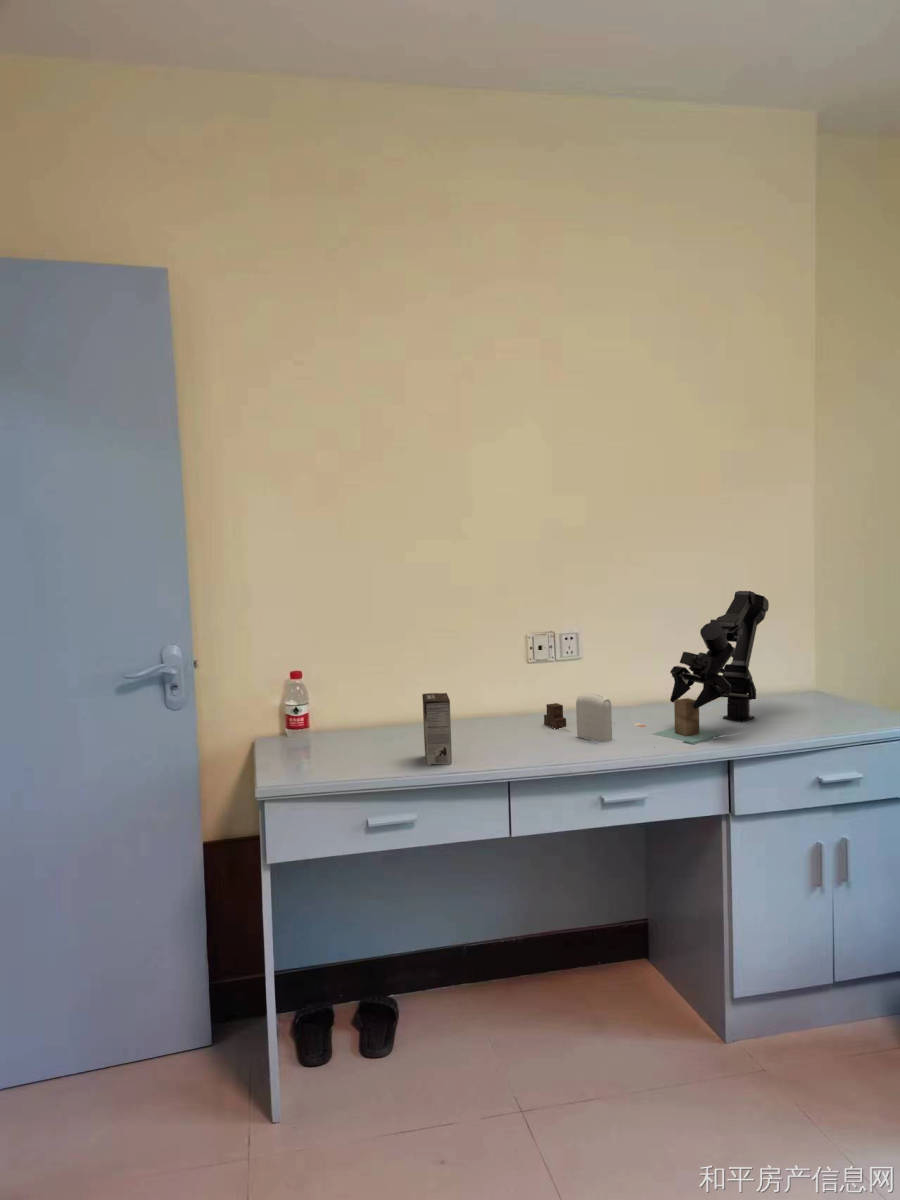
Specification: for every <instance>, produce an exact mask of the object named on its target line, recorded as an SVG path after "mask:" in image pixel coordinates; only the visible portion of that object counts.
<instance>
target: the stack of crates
mask: <svg viewBox="0 0 900 1200" xmlns="http://www.w3.org/2000/svg"><path fill="white" fill-rule="evenodd" d="M543 722H544V723H543V724H544V725H545V724H546V725H545V726H547V725H548V726H547V727H549V726H550V728H551V727H553V728H555V729H556V730H560V729H559V728H566V727H567V718H566V717H565V716H564V705H563V704H561V703H558V702H555V703H548V704H546V714H543ZM553 728H552V729H553ZM555 729H554V730H555Z"/></svg>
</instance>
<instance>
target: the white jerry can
mask: <svg viewBox="0 0 900 1200" xmlns="http://www.w3.org/2000/svg"><path fill="white" fill-rule="evenodd" d="M575 707H576V711H575V713H576V735H577V737H578V738H581V739H585V740H591V741H597V742H603V743H604V742H611V741H612V740H613V725H612V724H613V721H612V720H613V719H612V702H611V700H610V699H609V698H608V697H606V696H604V695H602V694H599V693H595V692H587V693H583V694H579V695H578V696H577V697H576V701H575Z"/></svg>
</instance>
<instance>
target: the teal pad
mask: <svg viewBox="0 0 900 1200" xmlns="http://www.w3.org/2000/svg"><path fill="white" fill-rule="evenodd" d="M652 735H655V736H659V737H664V738H669V739H673V740H678V741H682V742H683V743H685V744H690V745H696V744H699V743H702V742H701V741H703V742H706V741H709V740H711V738H712V739H715V738H718V736H721V735H723V733H722V732H717V731H711V730H706V729H701V728H699V734H698V735H692V736H683V735H680V734H677V733H675V726H674V727H670V728H668V729H664V730H660V731H657V732H653V733H652ZM714 737H715V738H714ZM708 739H709V740H708ZM705 740H706V741H705ZM698 742H699V743H698ZM695 743H696V744H695Z"/></svg>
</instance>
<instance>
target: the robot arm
mask: <svg viewBox="0 0 900 1200" xmlns="http://www.w3.org/2000/svg"><path fill="white" fill-rule="evenodd" d="M733 597H734V598H733V599H732V601H731V603H730V604H729V607H728V608H727V609H726V612H725V614H723V615H719V616H718V617H717V618H716V619H710V621H709V622H708V623H706V624H704V625H703V626H702V627H701V629H700V632H699V633H700V636H701V639H702V641H703V642H704V645H705V646H706V649H707V652H705V653H704V652H699V653H697V654H696V653H693V652H688V651H683V652H682V654H681V658H680V660H679V664H681V665H683V664H684V665H685V666H688V669H687V667H683V666H680V665H674V666H673V667H672V668H671V670H670V674H671V677H672V678H673V680H674V683H673V687H672V688H673V689H672V692H671V696H670V702H671V703H674V700H678V699H681V697H683V696H684V695H685V694H686V693H687V692H688V691H690V690H691V687H693V685H694V684H695V683H698V684H702V685H703V686H702V690H701V691H700V693H699V695H698V696H697V698H696V699H695V700H696V701H695V703H694V705H693V707H694V709H697V708H699V709H700V707H701V708H702V706H705V705H707V704H709V703H710V702H713V701H715V700H717V699H720V698H727V705H726V711H727V712H726V715H723V716H722V718H723V719H726V720H732V721H737V722H746V721H749V720H752V719H755V716H754V715H750V704H751V703H750V701H752V700H756V699H757V689H756V686H755V683H754V680H753V676H752V674H751V671H750V669H749V667H750V661H751V657H752V652H753V648H754V641H755V638H756V637H755V636H756V634H757V633H756V631H757V628H758V625H759V624H760V623H762V621H764V619H766V618H765V617H766V614H767V612H768V611H769V607H770V605H769V600H768V599H767V598H766V597H765V596H764V595H760V594H757V593H755V591H752V590H738V591H735V592H734V596H733ZM730 642H731V643H730ZM732 642H733V643H735V647H734V646H733V645H732ZM730 658H732V660H731V662H730V663H728V661H729V660H730ZM689 670H690V671H691V672H692V673H691V672H690V671H689Z"/></svg>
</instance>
